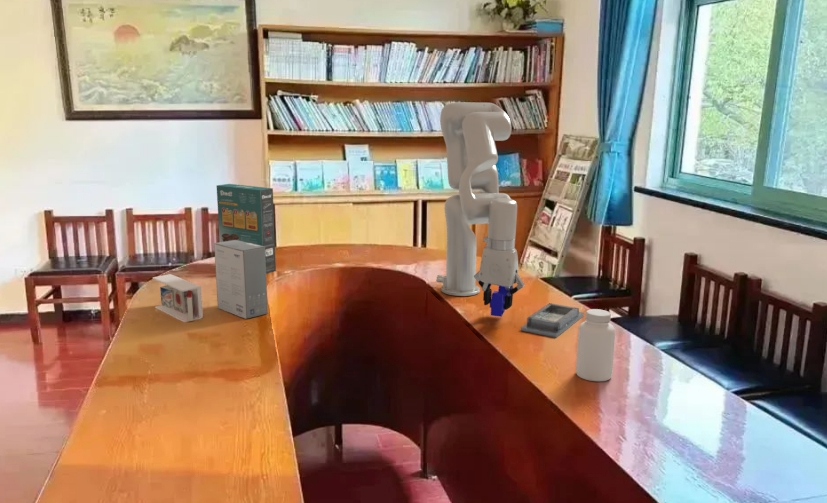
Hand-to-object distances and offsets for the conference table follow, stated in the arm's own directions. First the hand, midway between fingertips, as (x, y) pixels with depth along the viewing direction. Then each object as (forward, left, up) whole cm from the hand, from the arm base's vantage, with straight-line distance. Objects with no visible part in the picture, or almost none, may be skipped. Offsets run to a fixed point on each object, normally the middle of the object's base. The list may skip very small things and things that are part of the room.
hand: (497, 305), depth 189 cm
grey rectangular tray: (+14, +7, -5) cm, 16 cm away
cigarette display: (-80, -45, -5) cm, 91 cm away
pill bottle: (+35, -23, -5) cm, 42 cm away
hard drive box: (-66, -33, -5) cm, 74 cm away
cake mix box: (-102, +4, -5) cm, 102 cm away
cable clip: (0, +1, -1) cm, 1 cm away
